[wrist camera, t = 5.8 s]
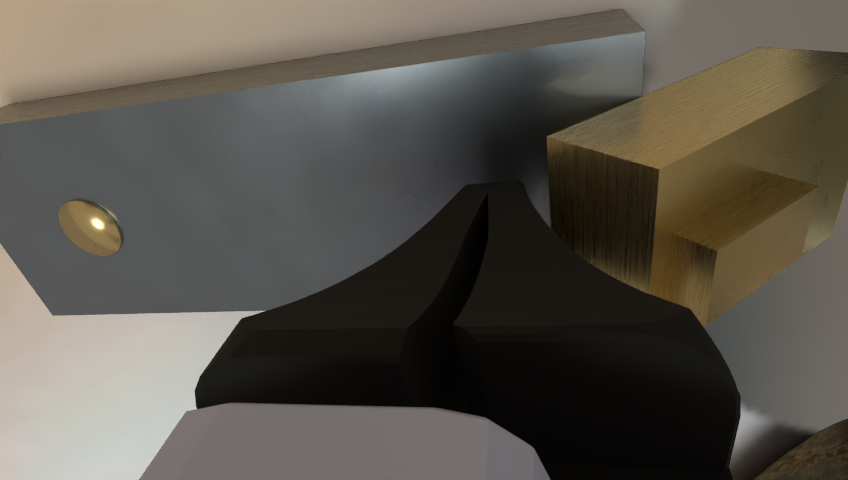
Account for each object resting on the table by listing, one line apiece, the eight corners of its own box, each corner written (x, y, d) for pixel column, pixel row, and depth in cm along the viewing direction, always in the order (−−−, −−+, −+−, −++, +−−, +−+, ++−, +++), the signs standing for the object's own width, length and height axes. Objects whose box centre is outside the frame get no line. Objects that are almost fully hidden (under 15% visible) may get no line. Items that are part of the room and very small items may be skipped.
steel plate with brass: (615, 242, 16) (631, 303, 13) (109, 268, 21) (51, 317, 18) (621, 8, 12) (646, 32, 10) (9, 104, 17) (-82, 136, 15)
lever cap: (733, 204, 14) (869, 246, 12) (554, 310, 12) (680, 394, 9) (760, 46, 12) (935, 58, 10) (546, 136, 10) (708, 183, 7)
